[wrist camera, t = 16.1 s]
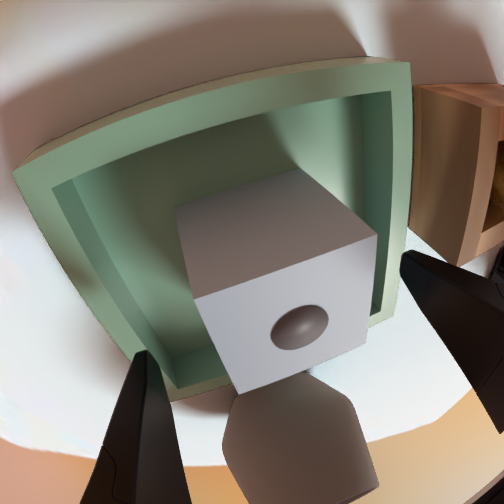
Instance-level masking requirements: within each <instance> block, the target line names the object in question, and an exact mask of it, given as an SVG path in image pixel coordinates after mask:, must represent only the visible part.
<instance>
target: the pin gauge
mask: <svg viewBox="0 0 504 504" xmlns="http://www.w3.org/2000/svg"><path fill="white" fill-rule="evenodd" d="M489 199H490V200H491V201H493V202H494V203H496V204H497V205H499V206H500V207H502V208H503V209H504V142H503V141H498V148H497V156H496V163H495V170H494V176H493V182H492V187H491V193H490V198H489Z"/></svg>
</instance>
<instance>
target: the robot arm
mask: <svg viewBox="0 0 504 504" xmlns="http://www.w3.org/2000/svg"><path fill="white" fill-rule="evenodd" d="M399 273H400V276H401V278H402V280H403V281H404V283H405V285H406V286H407V288H408V290H409V291H410V293H411V295H412V296H413V298H414V300H415V301H416V303H417V305H418V306H419V308H420V310H421V311H422V313H423V314H424V315H425V317H426V318H427V320H428V321H429V322H430V324H431V325H432V327H433V328H434V329H435V331H436V332H437V334H438V335H439V337H440V338H441V340H442V341H443V343H444V344H445V345H446V347H447V348H448V350H449V351H450V353H451V354H452V356H453V357H454V359H455V361H456V362H457V364H458V365H459V367H460V368H461V370H462V371H463V373H464V375H465V376H466V378H467V379H468V381H469V383H470V384H471V386H472V387H473V389H474V390H475V392H476V394H477V396H478V397H479V399H480V401H481V402H482V404H483V406H484V408H485V409H486V411H487V413H488V415H489V416H490V418H491V420H492V422H493V423H494V425H495V427H496V429H497V431H498V432H499V434H501V433H502V432H503V431H504V248H503V249H502V250H501V251H500V253H499V255H498V258H497V261H496V264H495V267H494V270H493V273H492V275H491V278H490V280H489V279H487V278H485V277H482V276H480V275H477V274H475V273H472V272H470V271H467V270H465V269H462V268H460V267H457V266H455V265H452V264H449V263H447V262H444V261H442V260H439V259H436V258H434V257H431V256H428V255H426V254H423V253H420V252H418V251H415V250H409V251H406V252H404V253H403V254H402V255H401V261H400V268H399ZM80 504H192V502H191V498H190V494H189V490H188V486H187V482H186V478H185V473H184V468H183V464H182V459H181V454H180V450H179V445H178V440H177V434H176V429H175V424H174V418H173V413H172V408H171V405H170V401H169V398H168V394H167V391H166V387H165V384H164V380H163V376H162V372H161V369H160V366H159V364H158V362H157V361H156V360H155V358H154V357H153V356H152V354H151V353H150V352H149V351H148V350H147V349H146V350H142V351H139V352H136V353H135V355H134V357H133V360H132V362H131V365H130V368H129V370H128V373H127V376H126V378H125V381H124V384H123V386H122V389H121V392H120V394H119V397H118V400H117V403H116V406H115V408H114V411H113V414H112V417H111V420H110V423H109V426H108V429H107V432H106V435H105V438H104V441H103V445H102V446H101V450H100V453H99V456H98V459H97V461H96V464H95V467H94V470H93V472H92V475H91V477H90V480H89V482H88V485H87V487H86V489H85V492H84V494H83V496H82V499H81V501H80ZM464 504H504V470H503V471H502V472H501V473H500V474H499V475H498V476H497V477H495V478H494V479H493V480H492V481H491V482H490V483H489V484H487V485H486V486H485V487H484V488H483V489H482V490H480V491H479V492H478V493H476V494H475V495H474V496H473V497H472V498H470V499H469V500H468V501H466V502H465V503H464Z"/></svg>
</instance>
